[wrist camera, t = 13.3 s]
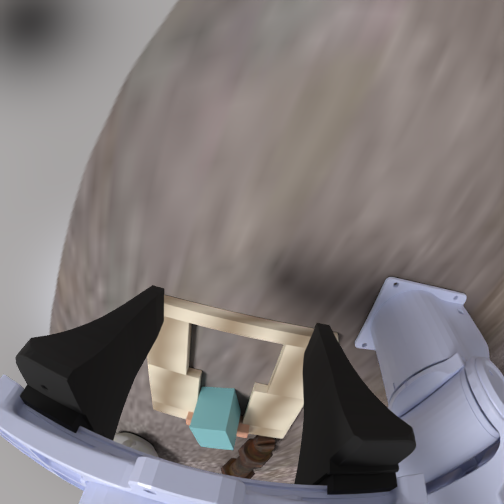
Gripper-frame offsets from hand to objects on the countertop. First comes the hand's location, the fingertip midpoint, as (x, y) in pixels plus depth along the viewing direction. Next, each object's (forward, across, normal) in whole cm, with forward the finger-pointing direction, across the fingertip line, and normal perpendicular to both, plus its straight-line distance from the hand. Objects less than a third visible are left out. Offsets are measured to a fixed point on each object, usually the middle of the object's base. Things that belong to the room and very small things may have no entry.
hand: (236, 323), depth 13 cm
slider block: (+10, 0, +22) cm, 25 cm away
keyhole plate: (+10, 0, +18) cm, 21 cm away
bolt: (+11, -6, +36) cm, 38 cm away
